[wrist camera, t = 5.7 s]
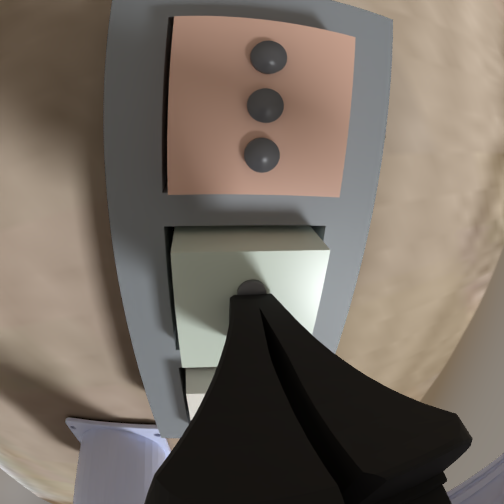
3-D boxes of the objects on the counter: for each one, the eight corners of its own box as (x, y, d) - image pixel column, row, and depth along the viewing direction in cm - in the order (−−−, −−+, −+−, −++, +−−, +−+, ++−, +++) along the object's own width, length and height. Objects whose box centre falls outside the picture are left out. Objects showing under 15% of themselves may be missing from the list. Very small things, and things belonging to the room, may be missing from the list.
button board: (296, 391, 19) (308, 426, 17) (162, 400, 18) (161, 437, 15) (353, 32, 10) (392, 19, 7) (132, 14, 8) (113, -10, 6)
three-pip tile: (298, 168, 12) (342, 199, 8) (178, 166, 11) (167, 197, 8) (308, 54, 10) (358, 36, 6) (182, 45, 9) (173, 13, 5)
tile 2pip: (282, 301, 15) (307, 362, 11) (183, 304, 14) (182, 371, 10) (294, 207, 13) (332, 252, 9) (178, 207, 12) (170, 256, 8)
